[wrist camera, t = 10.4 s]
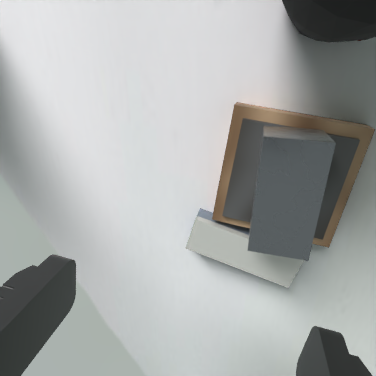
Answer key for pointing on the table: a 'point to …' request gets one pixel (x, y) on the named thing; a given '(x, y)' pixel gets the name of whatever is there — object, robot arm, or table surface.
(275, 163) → the block
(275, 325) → the table surface
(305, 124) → the stand
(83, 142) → the table surface
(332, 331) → the robot arm
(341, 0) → the portable speaker
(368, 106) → the table surface
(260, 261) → the eraser
